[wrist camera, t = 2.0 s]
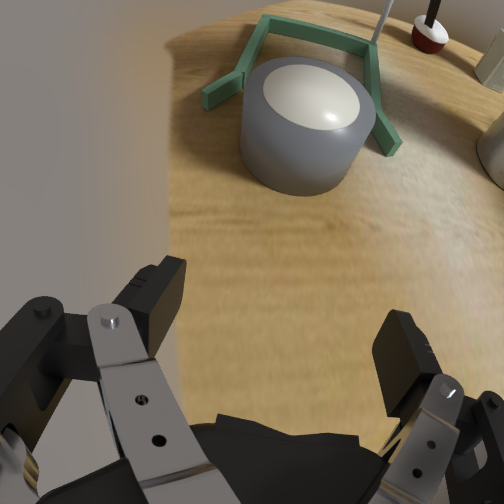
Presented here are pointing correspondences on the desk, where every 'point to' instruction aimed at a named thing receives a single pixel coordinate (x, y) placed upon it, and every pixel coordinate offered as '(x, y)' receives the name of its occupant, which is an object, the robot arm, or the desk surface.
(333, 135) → the grey cylinder
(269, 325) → the desk surface
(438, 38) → the cocoa
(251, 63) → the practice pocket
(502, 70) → the skincare box
